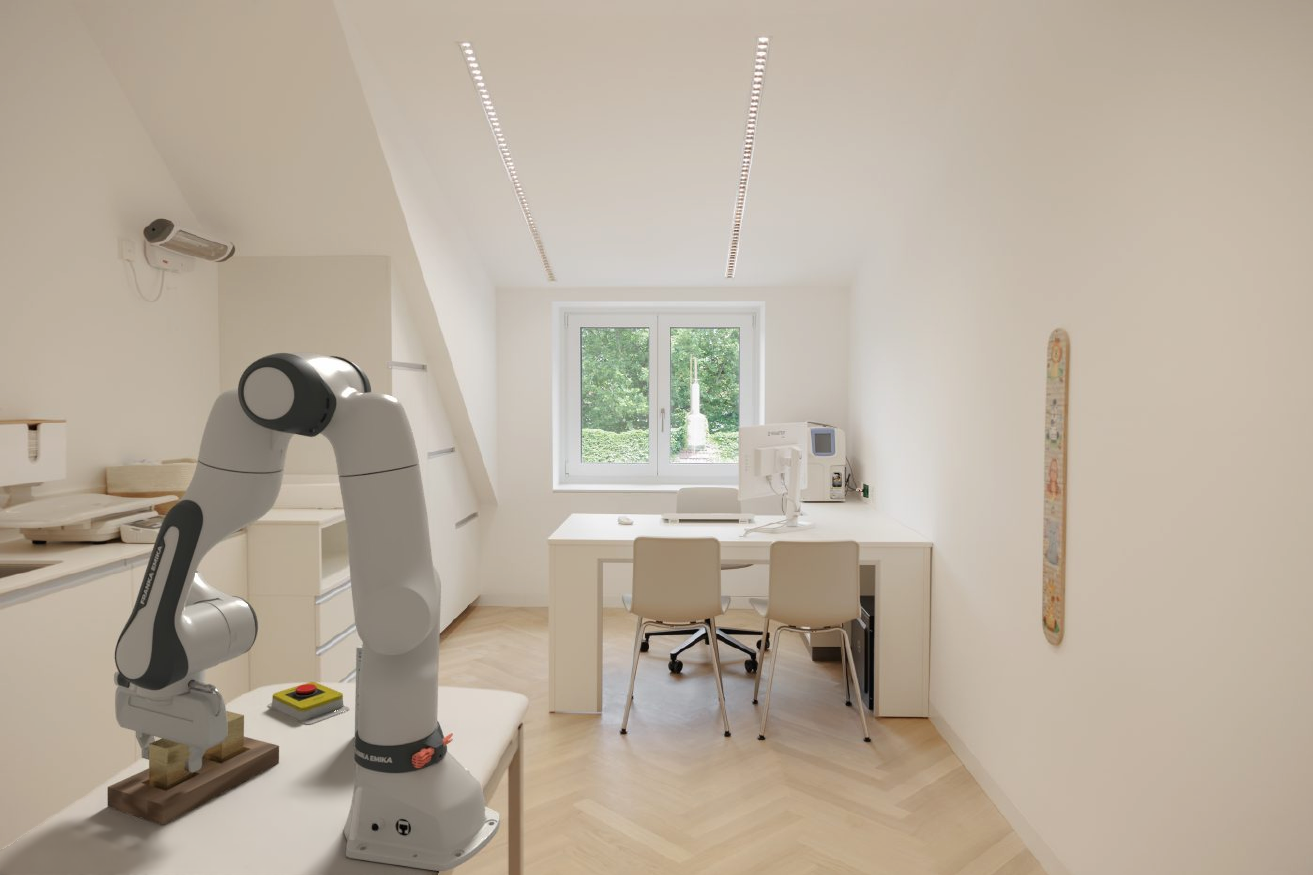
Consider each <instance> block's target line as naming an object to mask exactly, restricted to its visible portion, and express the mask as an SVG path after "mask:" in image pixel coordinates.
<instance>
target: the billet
mask: <svg viewBox="0 0 1313 875" xmlns="http://www.w3.org/2000/svg"><path fill="white" fill-rule="evenodd" d="M190 755H191V752H190V751H189V746H188V745H185V744H181V743H177V742H174V741H170V740H166V739H163V738H159V739H158V740H155V742H153V743H150V744H149V760H148V768H149V786H152V787H156V788H159V789H162V790H165V791H167V790H169V789H171V788H173V787H175V786H177V785H179V784H181V783H183V782H185V781H187V780H189V779H191V778H193V773H192V772H189V771H186V770H184V767H185V765H184V760H186V759H188V758H189V757H190Z"/></svg>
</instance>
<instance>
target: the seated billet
mask: <svg viewBox="0 0 1313 875" xmlns="http://www.w3.org/2000/svg"><path fill="white" fill-rule="evenodd" d="M226 713H227V724H228V735H227V737H226V739H225V740H224V741H223V742H222V743H220V744H218V745H216V746H214V747H212V748H209V749H207V750H206V752H205V754H204V759H206V760H210V761H214V762H217V763H223V762H225V761H227V760H229V759H231V758H233V757H236V756H238V755H240V754H242V753H244V737H245V735H244V734H245V714H241V713H237V712H233V711H230V710H229V711H228V710H226Z"/></svg>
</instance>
